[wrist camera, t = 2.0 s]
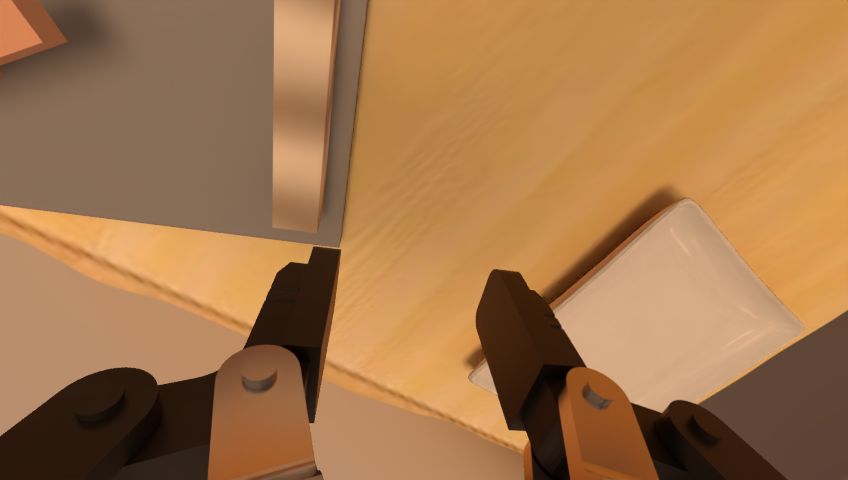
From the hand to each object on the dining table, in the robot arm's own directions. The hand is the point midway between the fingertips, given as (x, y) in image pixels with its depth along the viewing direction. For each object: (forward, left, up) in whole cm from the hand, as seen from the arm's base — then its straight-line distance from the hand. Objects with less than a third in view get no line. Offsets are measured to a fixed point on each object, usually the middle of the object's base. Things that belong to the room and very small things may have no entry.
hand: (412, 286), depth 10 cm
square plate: (+18, +30, -20) cm, 40 cm away
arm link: (-3, -6, -17) cm, 19 cm away
